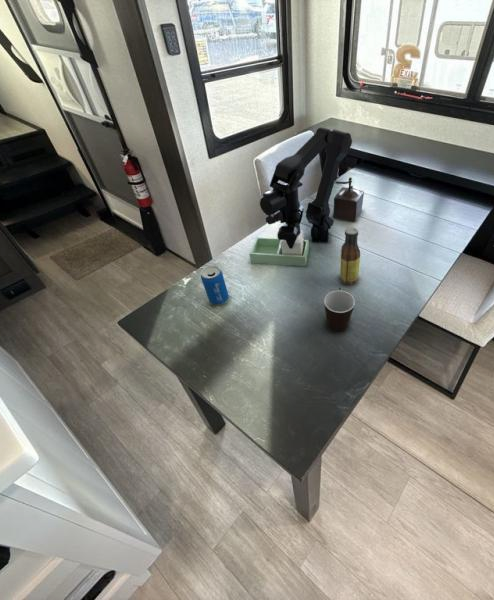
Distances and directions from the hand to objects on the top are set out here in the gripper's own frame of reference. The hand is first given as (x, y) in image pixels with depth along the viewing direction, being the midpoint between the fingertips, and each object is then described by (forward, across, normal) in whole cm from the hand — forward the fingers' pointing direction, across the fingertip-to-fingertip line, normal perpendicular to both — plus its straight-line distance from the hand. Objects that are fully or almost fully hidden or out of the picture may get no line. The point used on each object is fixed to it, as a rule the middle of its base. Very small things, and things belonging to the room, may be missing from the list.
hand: (292, 241), depth 113 cm
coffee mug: (+7, +30, +19) cm, 36 cm away
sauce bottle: (+7, +11, +21) cm, 25 cm away
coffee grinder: (+7, -33, +17) cm, 38 cm away
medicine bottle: (+5, 0, 0) cm, 5 cm away
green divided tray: (+6, 0, -5) cm, 8 cm away
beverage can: (+7, +25, -21) cm, 33 cm away
